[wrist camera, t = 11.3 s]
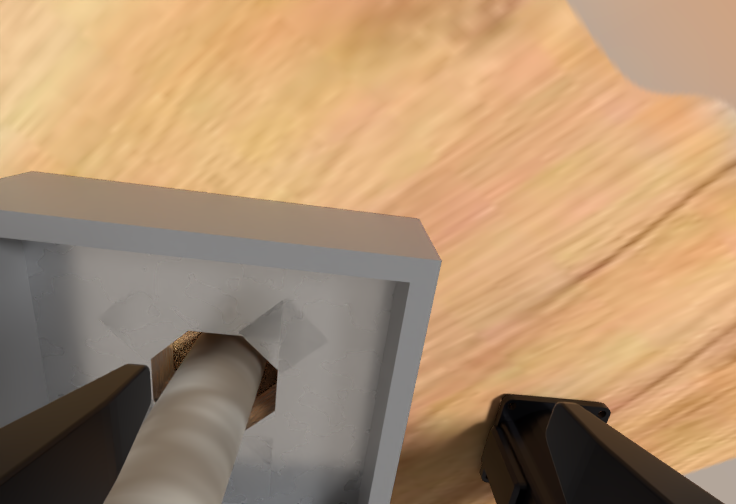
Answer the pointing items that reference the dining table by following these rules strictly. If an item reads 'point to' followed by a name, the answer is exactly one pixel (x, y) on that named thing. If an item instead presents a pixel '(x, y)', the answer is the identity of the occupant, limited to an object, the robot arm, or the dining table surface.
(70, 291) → the bore plate
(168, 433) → the peg
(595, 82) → the dining table surface
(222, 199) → the open box
